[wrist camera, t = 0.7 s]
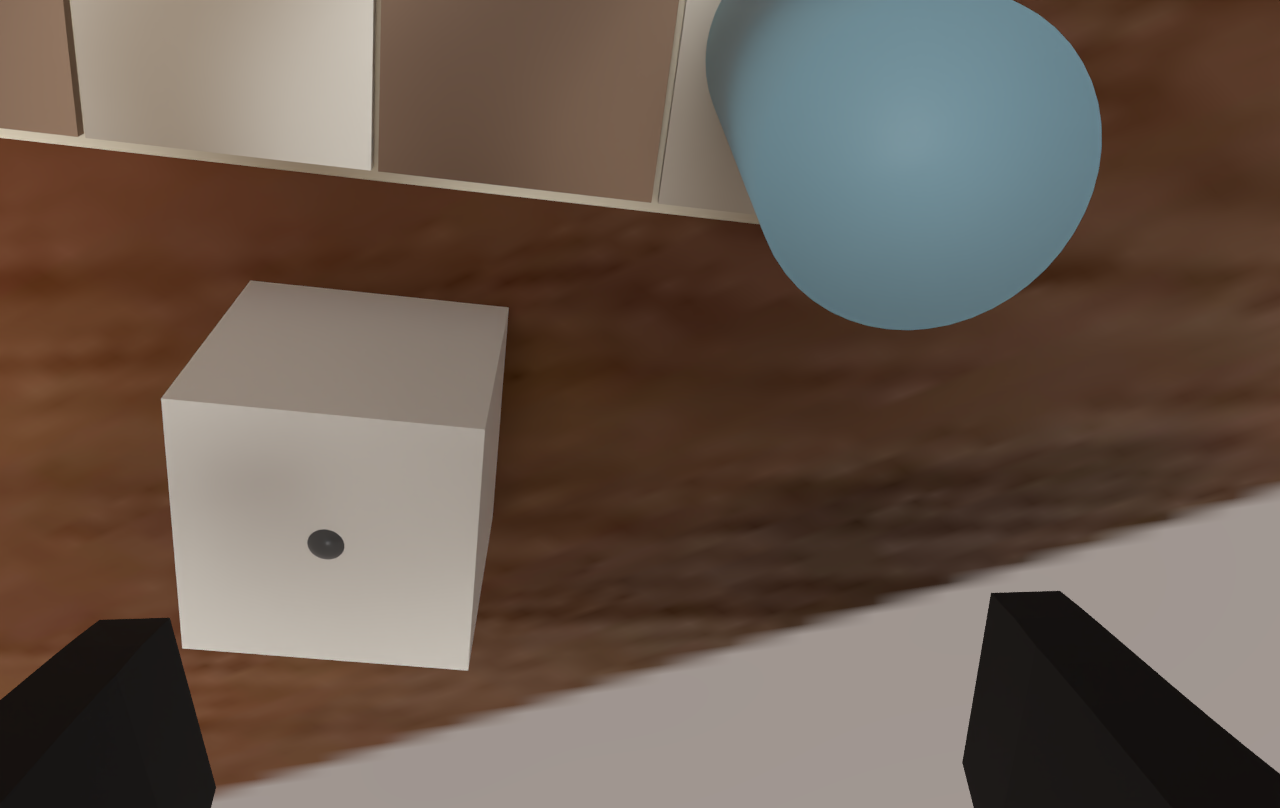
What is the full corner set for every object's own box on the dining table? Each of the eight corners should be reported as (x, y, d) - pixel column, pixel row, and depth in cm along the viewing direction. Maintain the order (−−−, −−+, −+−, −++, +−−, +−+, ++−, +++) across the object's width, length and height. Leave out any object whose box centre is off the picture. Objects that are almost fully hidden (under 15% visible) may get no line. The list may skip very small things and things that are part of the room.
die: (508, 305, 18) (484, 433, 14) (492, 519, 20) (466, 681, 16) (244, 278, 17) (149, 401, 14) (254, 498, 19) (172, 658, 16)
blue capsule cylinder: (966, -52, 15) (1150, 14, 10) (908, 185, 16) (1042, 345, 11) (726, -86, 14) (791, -35, 9) (689, 159, 16) (729, 312, 11)
